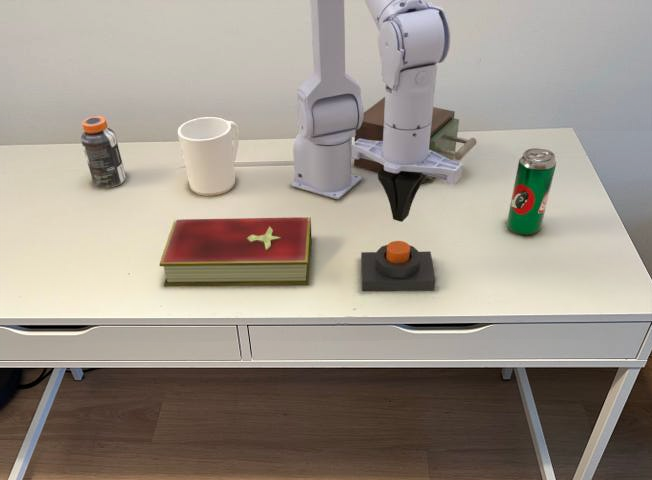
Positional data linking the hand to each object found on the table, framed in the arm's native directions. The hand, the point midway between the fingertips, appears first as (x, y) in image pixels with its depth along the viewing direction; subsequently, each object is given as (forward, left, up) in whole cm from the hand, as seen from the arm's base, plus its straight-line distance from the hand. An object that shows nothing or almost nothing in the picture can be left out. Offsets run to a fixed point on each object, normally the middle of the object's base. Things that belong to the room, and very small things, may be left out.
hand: (400, 217), depth 89 cm
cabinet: (-14, +29, -9) cm, 34 cm away
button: (0, -1, -6) cm, 6 cm away
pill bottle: (-58, -2, -9) cm, 58 cm away
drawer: (-11, +29, -8) cm, 32 cm away
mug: (-40, +7, -9) cm, 41 cm away
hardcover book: (-21, -9, -9) cm, 25 cm away
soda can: (+11, +19, -9) cm, 24 cm away
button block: (+1, -1, -9) cm, 9 cm away
